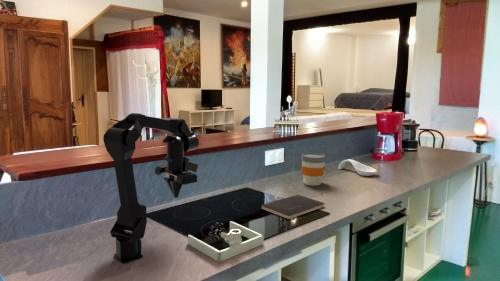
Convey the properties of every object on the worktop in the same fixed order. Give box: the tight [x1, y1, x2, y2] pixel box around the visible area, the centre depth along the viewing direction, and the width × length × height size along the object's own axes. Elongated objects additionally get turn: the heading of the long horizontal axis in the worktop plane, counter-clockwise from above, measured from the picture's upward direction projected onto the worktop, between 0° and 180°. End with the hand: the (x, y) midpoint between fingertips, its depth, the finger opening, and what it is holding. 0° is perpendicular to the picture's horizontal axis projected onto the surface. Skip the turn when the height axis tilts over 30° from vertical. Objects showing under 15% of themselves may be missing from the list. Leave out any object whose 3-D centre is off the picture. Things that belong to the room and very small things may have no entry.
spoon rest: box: [338, 158, 377, 177], centre depth 221 cm, size 24×12×7 cm, turn 40°
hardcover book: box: [260, 194, 326, 220], centre depth 160 cm, size 16×23×2 cm
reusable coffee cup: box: [300, 152, 326, 187], centre depth 197 cm, size 13×13×15 cm
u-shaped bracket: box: [187, 220, 265, 263], centre depth 124 cm, size 19×16×3 cm
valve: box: [208, 221, 243, 248], centre depth 122 cm, size 7×7×12 cm
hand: (176, 197), depth 133 cm, fingers closed
